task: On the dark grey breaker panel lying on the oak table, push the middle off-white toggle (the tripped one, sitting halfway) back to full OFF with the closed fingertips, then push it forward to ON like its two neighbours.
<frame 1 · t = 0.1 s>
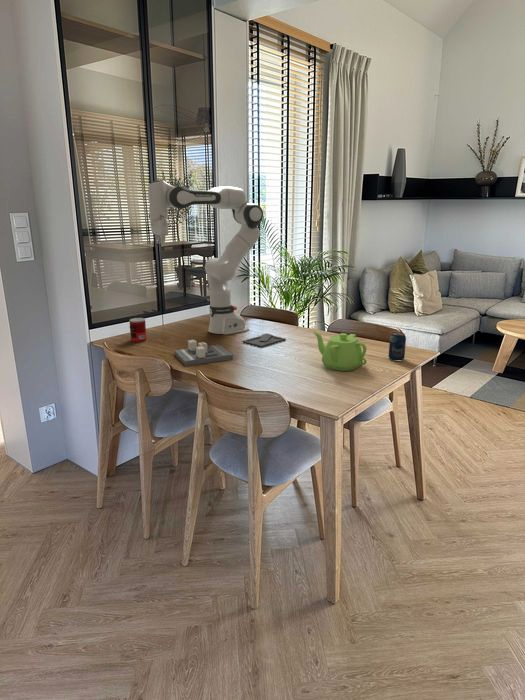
hand: (160, 244, 242), 48 cm above the table, fingers open, 8 cm apart
breaker 2: (200, 352, 216), point 4 cm above the table, slide at 3.0 cm
teapot: (338, 366, 211), on the table
panel: (203, 356, 223), on the table
picture frame: (264, 343, 247), on the table
breaker mid: (202, 347, 222), point 4 cm above the table, slide at 0.0 cm
soda can: (396, 359, 219), on the table
breaker 1: (192, 345, 226), point 4 cm above the table, slide at 3.0 cm
canned food: (138, 340, 250), on the table
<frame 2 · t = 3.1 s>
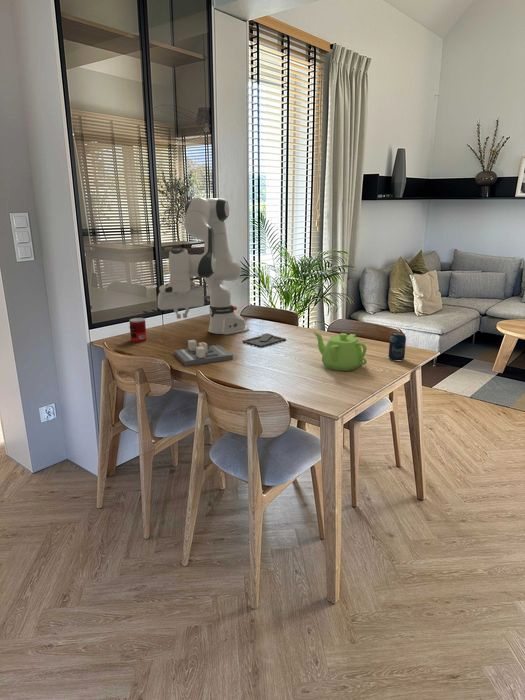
hand: (181, 318, 214), 19 cm above the table, fingers closed
nothing on the table moved.
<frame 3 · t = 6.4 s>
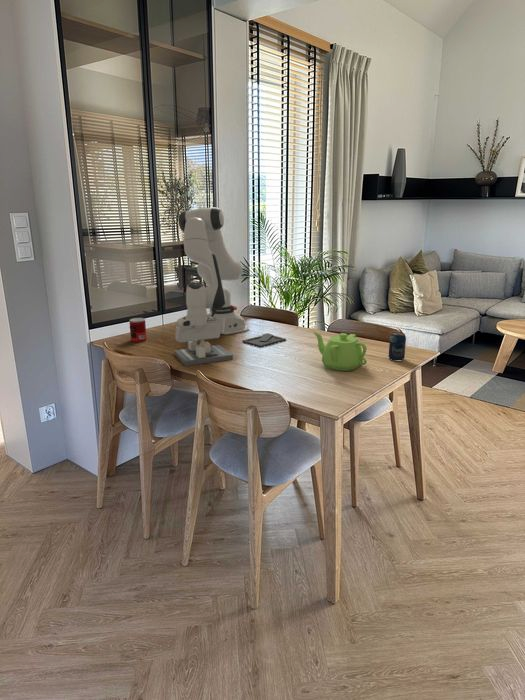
hand: (198, 349, 221), 4 cm above the table, fingers closed
breaker mid: (205, 347, 222), point 4 cm above the table, slide at -1.4 cm, touching gripper
everything else where it was.
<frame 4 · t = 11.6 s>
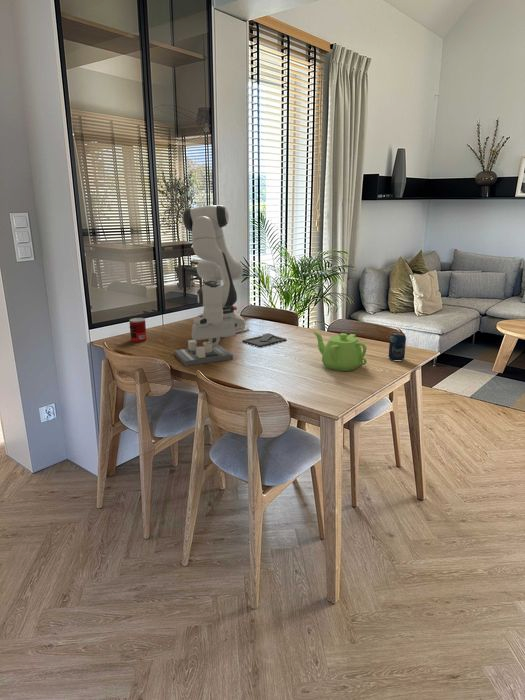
hand: (214, 347, 224), 4 cm above the table, fingers closed
breaker mid: (207, 347, 223), point 4 cm above the table, slide at -2.2 cm, touching gripper
everything else where it was.
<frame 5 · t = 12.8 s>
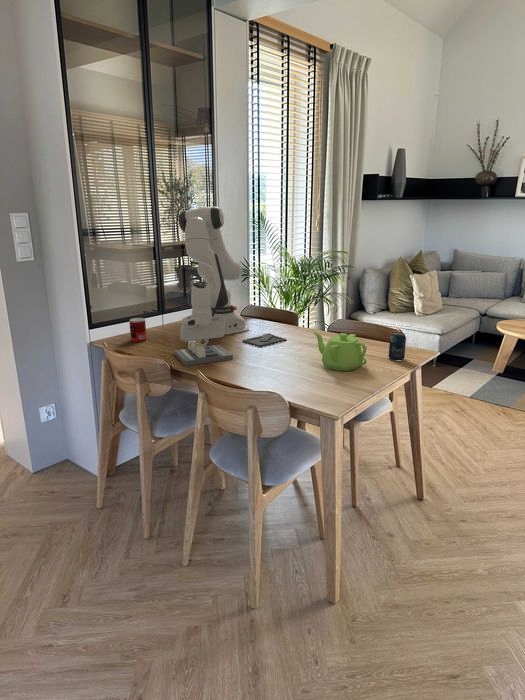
hand: (203, 348, 222), 4 cm above the table, fingers closed
breaker mid: (196, 348, 221), point 4 cm above the table, slide at 3.1 cm, touching gripper
everything else where it was.
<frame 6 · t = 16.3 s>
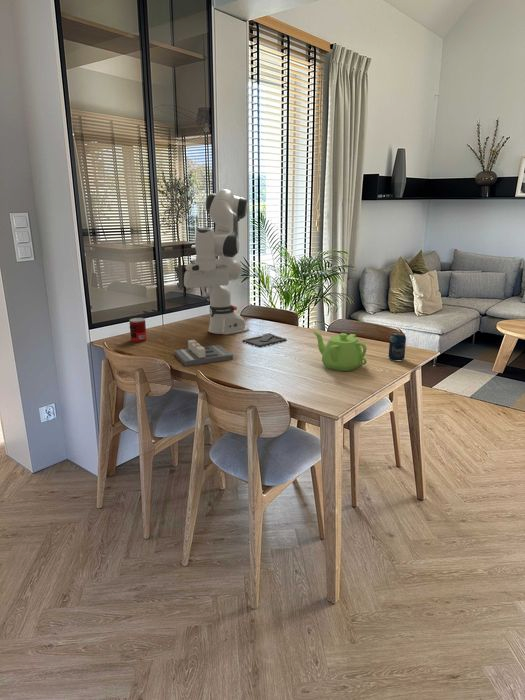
hand: (207, 296, 220), 27 cm above the table, fingers closed
breaker mid: (196, 348, 221), point 4 cm above the table, slide at 3.1 cm
everything else where it was.
at the end: breaker mid slide at 3.1 cm; breaker 1 slide at 3.0 cm; breaker 2 slide at 3.0 cm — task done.
